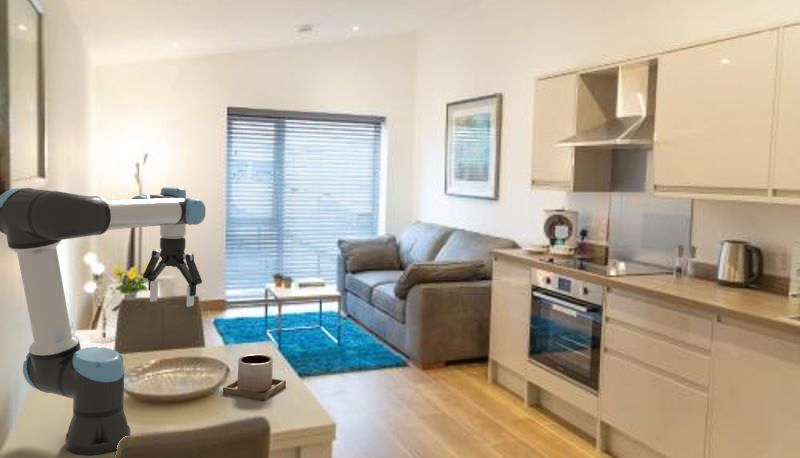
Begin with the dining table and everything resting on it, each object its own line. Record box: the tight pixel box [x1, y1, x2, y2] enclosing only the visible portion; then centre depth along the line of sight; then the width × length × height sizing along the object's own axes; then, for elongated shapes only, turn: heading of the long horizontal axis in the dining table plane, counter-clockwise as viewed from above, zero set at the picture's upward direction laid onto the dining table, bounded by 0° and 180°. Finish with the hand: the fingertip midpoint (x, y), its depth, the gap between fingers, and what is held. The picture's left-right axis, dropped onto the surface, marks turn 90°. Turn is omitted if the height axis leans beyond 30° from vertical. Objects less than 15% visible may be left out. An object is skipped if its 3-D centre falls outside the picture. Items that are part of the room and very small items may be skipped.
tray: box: [222, 377, 287, 402], centre depth 210 cm, size 14×14×2 cm
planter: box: [237, 353, 274, 393], centre depth 209 cm, size 11×11×10 cm
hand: (171, 303), depth 207 cm, fingers open, 13 cm apart
